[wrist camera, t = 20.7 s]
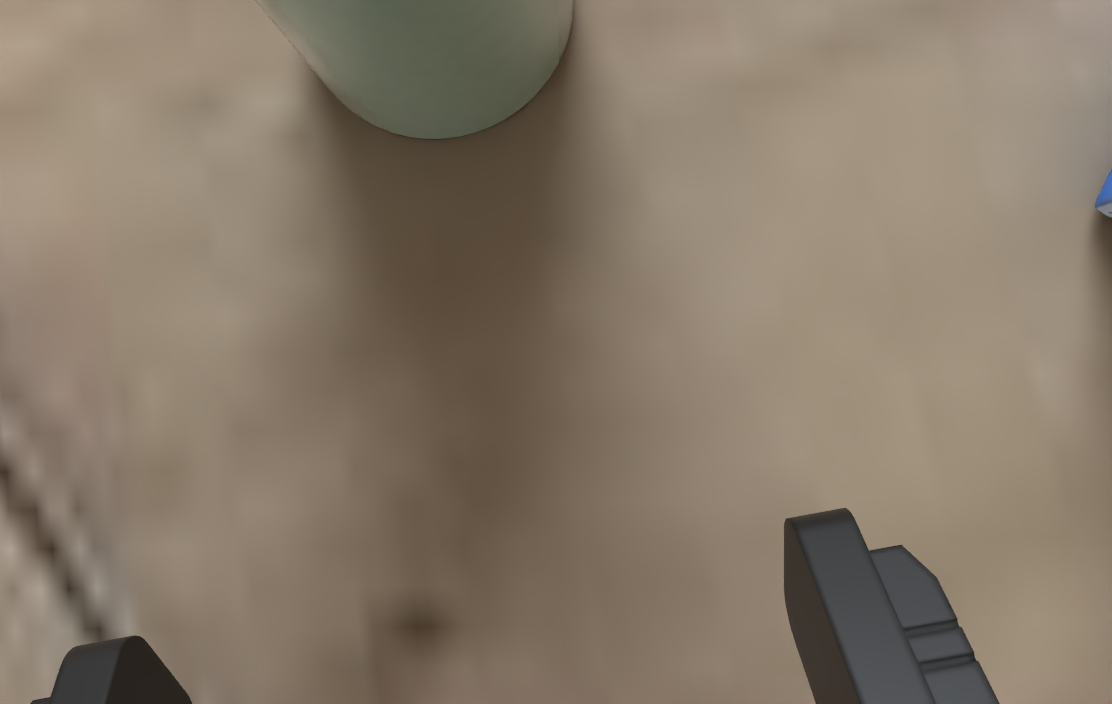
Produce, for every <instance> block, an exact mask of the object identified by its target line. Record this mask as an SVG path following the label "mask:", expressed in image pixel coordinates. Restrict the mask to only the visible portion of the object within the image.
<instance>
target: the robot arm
mask: <svg viewBox="0 0 1112 704" xmlns="http://www.w3.org/2000/svg"><path fill="white" fill-rule="evenodd" d="M784 594H785V602H786V608H787V613H788V618H789V622H790V626H791V630H792V633H793V637H794V640H795V643H796V646H797V649H798V652H799V655H800V658H801V661H802V664H803V667H804V669H805V672H806V675H807V678H808V681H809V684H810V687H811V690H812V693H813V696H814V699H815V702H816V704H999V702H998V700H997V698H996V696H995V694H994V692H993V690H992V688H991V686H990V684H989V682H988V680H987V678H986V675H985V673H984V671H983V669H982V667H981V665H980V663H979V661H976V659H975V657H974V651H973V649H972V647H971V645H970V643H969V641H968V639H967V637H966V635H965V633H964V631H963V629H962V627H959V625H958V622H957V617H956V615H955V613H954V611H953V609H952V607H951V605H950V603H949V601H948V599H947V597H946V595H945V593H944V591H943V589H942V587H941V585H940V583H939V581H938V579H937V577H936V576H934V575H933V574H932V573H931V572H930V571H929V570H928V569H927V568H926V567H925V566H924V565H923V564H922V563H921V562H919V561H918V560H917V559H916V558H915V557H914V556H913V555H912V554H911V553H910V552H909V551H908V550H907V549H905V548H904V547H903V546H902V545H898V546H892V547H887V548H881V549H876V550H870V551H869V550H868V548H867V546H866V543H865V541H864V539H863V536H862V534H861V532H860V530H859V527H858V525H857V523H856V521H855V519H854V517H853V515H852V514H851V512H850V511H849V510H848V509H846V508H842V509H836V510H831V511H825V512H820V513H814V514H809V515H804V516H798V517H793V518H787V519H786V520H785V523H784ZM31 704H192V702H191V700H190V698H189V696H188V694H187V693H186V691H185V690H184V689H183V688H182V686H181V685H180V684H179V683H178V681H177V680H176V679H175V677H174V676H173V675H172V674H171V672H170V671H169V670H168V669H167V667H166V666H165V665H164V663H163V662H162V661H161V660H160V658H159V657H158V656H157V655H156V653H155V652H154V651H153V649H152V648H151V647H150V646H149V644H148V643H147V642H146V641H145V640H144V639H143V638H142V637H140V636H129V637H124V638H119V639H113V640H108V641H102V642H97V643H91V644H86V645H80V646H76V647H74V648H72V649H71V650H70V651H69V652H68V653H67V654H66V656H65V658H64V659H63V661H62V664H61V667H60V670H59V673H58V676H57V679H56V682H55V685H54V688H53V691H52V694H51V697H49V698H43V699H38V700H33V701H32V702H31Z"/></svg>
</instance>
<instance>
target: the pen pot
mask: <svg viewBox="0 0 1112 704" xmlns="http://www.w3.org/2000/svg"><path fill="white" fill-rule="evenodd" d="M255 1H256V2H257V4H258V5H259V6H260V7H261V8H262V10H263V11H264V12H265V13H266V14H267V16H268V17H269V18H270V19H271V20H272V22H273V23H274V24H275V25H276V26H277V28H278V29H279V30H280V31H281V32H282V34H283V35H284V36H285V37H286V38H287V40H288V41H289V42H290V43H291V44H292V46H293V47H294V48H295V49H296V50H297V52H298V53H299V54H300V55H301V56H302V58H303V59H304V60H305V61H306V62H307V64H308V65H309V66H310V67H311V68H312V70H313V71H314V72H315V73H316V74H317V76H318V77H319V78H320V79H321V80H322V82H323V83H324V84H325V85H326V86H327V88H328V89H329V90H330V91H331V92H332V93H333V95H334V96H335V97H336V98H337V99H338V100H339V101H340V102H341V103H342V104H343V105H344V106H346V107H347V108H348V109H349V110H351V111H352V112H353V113H354V114H356V115H357V116H359V117H360V118H362V119H364V120H365V121H367V122H369V123H371V124H372V125H375V126H377V127H379V128H382V129H384V130H386V131H389V132H392V133H396V134H400V135H403V136H408V137H416V138H423V139H443V138H452V137H460V136H463V135H467V134H471V133H475V132H478V131H481V130H483V129H486V128H488V127H491V126H493V125H495V124H497V123H499V122H501V121H503V120H504V119H506V118H508V117H510V116H511V115H512V114H514V113H515V112H517V111H518V110H519V109H521V108H522V107H523V106H525V105H526V104H527V103H528V102H529V101H530V100H531V99H532V98H533V97H534V96H535V95H536V94H537V93H538V92H539V91H540V89H541V88H542V87H543V86H544V84H545V83H546V82H547V81H548V80H549V78H550V76H551V75H552V73H553V71H554V70H555V68H556V67H557V65H558V63H559V61H560V59H561V56H562V54H563V52H564V50H565V47H566V44H567V40H568V37H569V34H570V30H571V24H572V17H573V0H255Z"/></svg>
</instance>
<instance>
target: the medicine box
mask: <svg viewBox="0 0 1112 704" xmlns="http://www.w3.org/2000/svg"><path fill="white" fill-rule="evenodd" d="M1095 208H1096V209H1097V210H1099V211H1100V212H1102V213H1103V214H1105V215H1107V216H1109V217H1111V218H1112V170H1111V172H1110V173H1109V175H1108V177H1107V179H1106V181H1105V183H1104V186H1103V188H1102V190H1101V192H1100V194H1099V196H1098V198H1097V200H1096V204H1095Z"/></svg>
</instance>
